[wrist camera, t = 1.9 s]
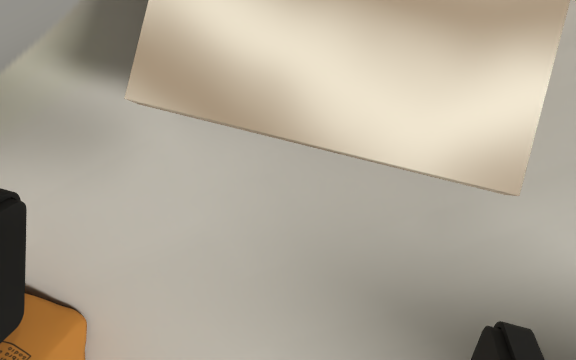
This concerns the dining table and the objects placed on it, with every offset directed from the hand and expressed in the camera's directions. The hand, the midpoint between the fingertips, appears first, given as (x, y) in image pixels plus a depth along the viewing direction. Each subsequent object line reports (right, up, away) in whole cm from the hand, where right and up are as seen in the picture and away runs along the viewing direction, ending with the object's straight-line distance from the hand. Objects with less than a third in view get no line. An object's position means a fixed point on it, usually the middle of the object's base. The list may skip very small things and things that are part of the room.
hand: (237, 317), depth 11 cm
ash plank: (+4, +11, +11) cm, 16 cm away
